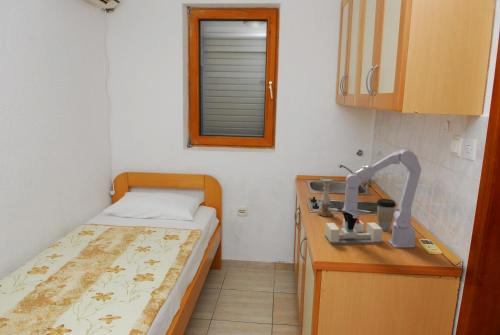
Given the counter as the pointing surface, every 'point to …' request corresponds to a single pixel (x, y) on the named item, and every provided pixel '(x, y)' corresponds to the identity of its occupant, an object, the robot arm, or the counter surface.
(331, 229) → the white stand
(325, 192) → the candle holder
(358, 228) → the box
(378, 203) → the coffee cup
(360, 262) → the counter surface
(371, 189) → the counter surface
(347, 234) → the carriage
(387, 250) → the counter surface
